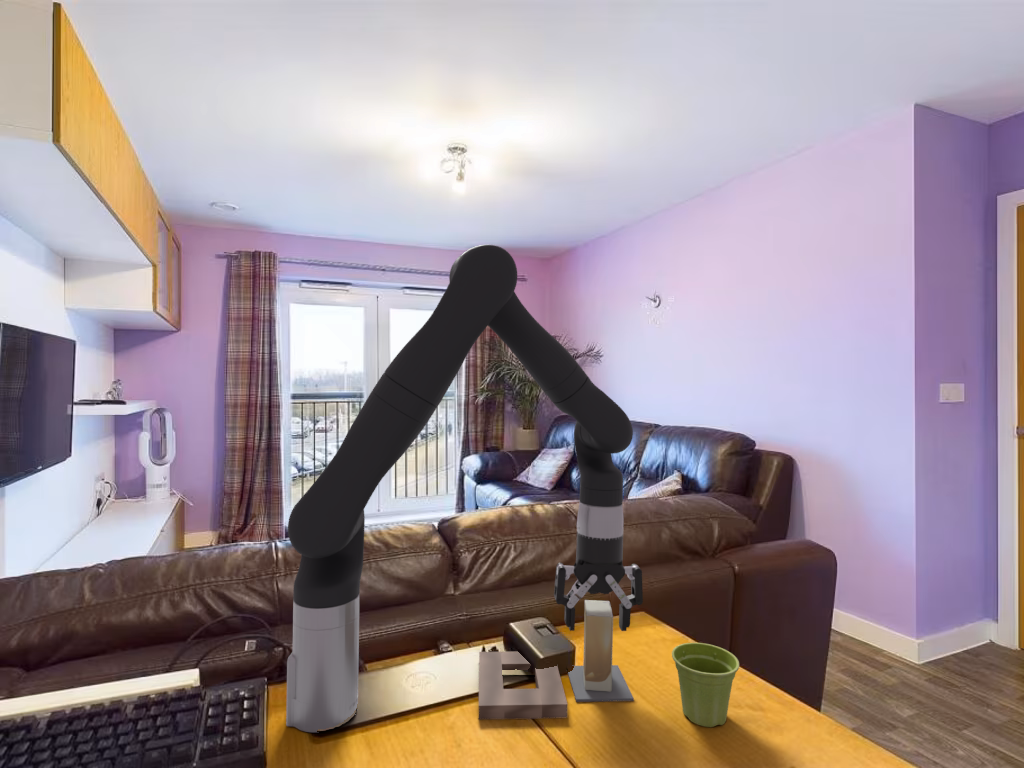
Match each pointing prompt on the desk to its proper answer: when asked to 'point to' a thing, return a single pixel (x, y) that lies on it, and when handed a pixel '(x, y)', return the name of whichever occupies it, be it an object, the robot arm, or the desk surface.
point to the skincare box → (598, 645)
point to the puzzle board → (518, 690)
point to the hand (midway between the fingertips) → (597, 628)
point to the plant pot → (705, 681)
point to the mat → (617, 694)
